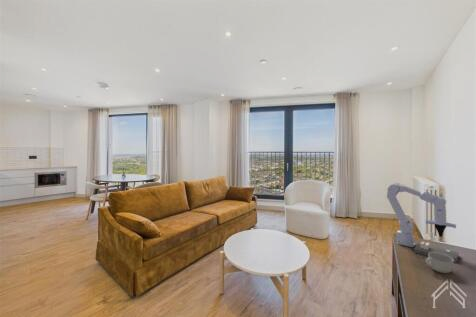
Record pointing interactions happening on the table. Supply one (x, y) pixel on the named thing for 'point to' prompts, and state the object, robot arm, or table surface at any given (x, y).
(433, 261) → the teacup
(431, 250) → the console
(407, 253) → the table surface
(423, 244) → the fader
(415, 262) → the table surface
